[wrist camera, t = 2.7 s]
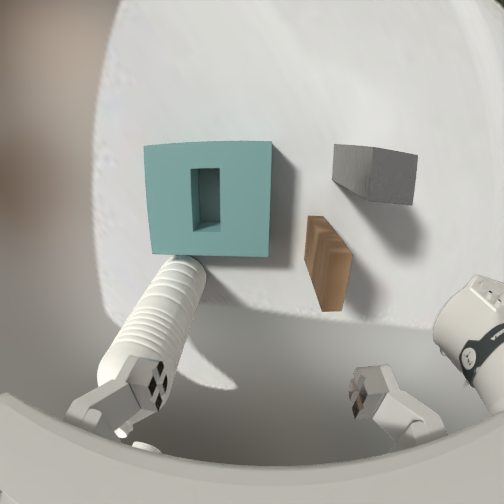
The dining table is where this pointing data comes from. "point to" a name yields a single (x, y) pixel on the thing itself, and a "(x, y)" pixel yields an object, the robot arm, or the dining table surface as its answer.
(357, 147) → the square metal peg
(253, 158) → the socket block
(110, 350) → the water bottle
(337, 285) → the walnut blade
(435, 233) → the dining table surface
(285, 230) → the dining table surface
